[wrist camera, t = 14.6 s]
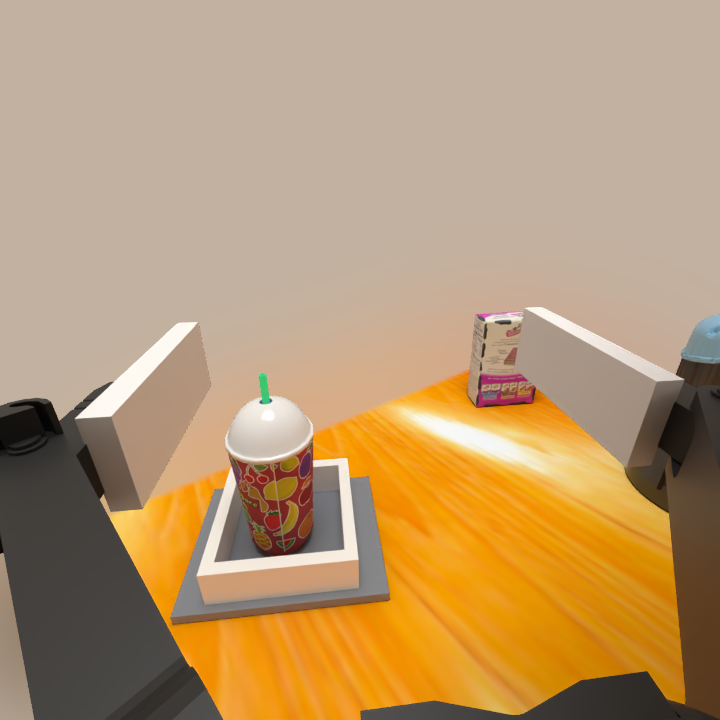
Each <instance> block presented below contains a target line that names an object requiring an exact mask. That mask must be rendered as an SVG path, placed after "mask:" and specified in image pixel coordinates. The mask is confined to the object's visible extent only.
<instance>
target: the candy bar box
mask: <svg viewBox="0 0 720 720" xmlns="http://www.w3.org/2000/svg"><path fill="white" fill-rule="evenodd" d="M523 314H524V311H523V312H505V313H490V314H476V315H475V324H474V334H473V343H472V354H471V362H470V372H469V382H468V392H467V395H468V397H469V398H470V399H471V401H472V402H473V403H474V405H475V406H476V407H488V406H500V405H511V404H522V403H532V402H533V400H534V395H535V390H536V387H535V386H534V385H533V384H532V383H531V382H529V381H528V380H527V379H526V378H525V377H524V376H523V375H522V374H521V373H519V372H518V371H517V370H516V369H515V368H514V366H515V360H516V354H517V349H518V343H519V337H520V331H521V326H522V320H523Z"/></svg>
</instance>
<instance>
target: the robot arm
mask: <svg viewBox="0 0 720 720" xmlns="http://www.w3.org/2000/svg"><path fill="white" fill-rule="evenodd" d="M681 356H682V359H681V362H680V365H679V368H678V370H677V373H676V375H674V374H672V373H670V372H668V371H667V370H665V369H662V368H661V367H659V366H656V365H655V364H653V363H651V362H649V361H647V360H645V359H643V358H641V357H639V356H637V355H635V354H633V353H631V352H629V351H627V350H625V349H623V348H621V347H619V346H617V345H615V344H613V343H612V342H610V341H608V340H606V339H604V338H602V337H600V336H598V335H596V334H593V333H592V332H590V331H588V330H586V329H584V328H582V327H580V326H578V325H576V324H574V323H572V322H570V321H568V320H566V319H564V318H562V317H560V316H558V315H556V314H555V313H552V312H550V311H549V310H547V309H545V308H543V307H535V308H525V309H524V314H523V320H522V326H521V331H520V337H519V343H518V349H517V354H516V360H515V366H514V368H515V369H516V370H517V371H518V372H519V373H521V374H522V375H523V376H524V377H525V378H526V379H527V380H528V381H529V382H531V383H532V384H533V385H534V386H535V387H536V388H537V389H538V390H540V391H541V392H542V393H543V394H544V395H545V396H546V397H547V398H549V399H550V400H551V401H552V402H553V403H554V404H555V405H556V406H558V407H559V408H560V409H561V410H562V411H563V412H564V413H565V414H567V415H568V416H569V417H570V418H571V419H572V420H573V421H574V422H576V423H577V424H578V425H579V426H580V427H581V428H582V429H583V430H585V431H586V432H587V433H588V434H589V435H590V436H591V437H592V438H594V439H595V440H596V441H597V442H598V443H599V444H600V445H601V446H602V447H604V448H605V449H606V450H607V451H608V452H609V453H610V454H611V455H613V456H614V457H615V458H616V459H617V460H618V461H619V462H620V463H622V464H623V465H624V466H625V471H626V474H627V476H628V478H629V479H630V481H631V482H632V483H633V485H634V486H635V487H636V488H637V489H638V490H639V491H640V492H641V493H642V494H643V495H645V496H646V497H647V498H648V499H650V500H651V501H652V502H654V503H655V504H657V505H658V506H660V507H661V508H663V509H665V510H666V511H668V512H669V518H670V529H671V540H672V551H673V562H674V572H675V583H676V594H677V605H678V616H679V627H680V638H681V649H682V660H683V671H684V682H685V697H686V702H685V705H684V704H681V703H677V702H674V701H671V700H667V699H666V698H665V697H664V695H663V694H662V692H661V691H660V689H659V688H658V686H657V685H656V683H655V682H654V681H653V679H652V678H651V676H650V675H649V673H648V672H647V671H646V672H638V673H631V674H624V675H617V676H610V677H602V678H595V679H588V680H581V681H579V682H577V683H576V684H574V685H572V686H570V687H569V688H567V689H565V690H564V691H562V692H560V693H558V694H557V695H555V696H553V697H552V698H550V699H548V700H546V701H545V702H543V703H541V704H540V705H538V706H536V707H534V708H533V709H531V710H529V711H528V712H526V713H524V714H521V715H508V714H503V713H497V712H492V711H487V710H481V709H476V708H471V707H465V706H460V705H455V704H449V703H444V702H439V701H429V702H422V703H415V704H407V705H400V706H393V707H386V708H379V709H371V710H364V711H361V720H720V314H717V315H713V316H710V317H708V318H705V319H704V320H702V321H701V322H699V323H698V324H697V325H696V326H695V328H694V330H693V332H692V334H691V336H690V339H689V341H688V343H687V345H686V347H685V348H684V349H683V350H682V352H681ZM210 387H211V382H210V377H209V372H208V367H207V363H206V358H205V352H204V348H203V342H202V337H201V333H200V327H199V323H198V322H191V323H177V324H176V325H175V326H174V327H173V328H172V329H171V330H170V331H169V332H168V333H166V334H165V335H164V336H163V337H162V338H161V339H160V340H159V341H158V342H157V343H156V344H155V345H154V346H153V347H151V348H150V349H149V350H148V351H147V352H146V353H145V354H144V355H143V356H142V357H141V358H140V359H139V360H138V361H136V362H135V363H134V364H133V365H132V366H131V367H130V368H129V369H128V370H127V371H126V372H124V373H123V374H122V375H121V376H120V377H119V378H118V379H117V380H116V381H115V382H109V383H107V384H106V385H104V386H102V387H100V388H98V389H96V390H94V391H93V392H92V393H91V394H90V395H89V396H87V397H86V398H85V399H84V400H83V402H80V403H79V404H78V405H77V406H76V407H75V408H74V410H72V411H70V412H69V413H68V414H67V415H66V416H65V417H64V418H62V419H61V420H60V421H59V420H58V417H57V415H56V413H55V410H54V408H53V405H52V403H51V402H50V401H49V400H47V399H41V398H33V399H24V400H19V401H15V402H10V403H7V404H4V405H1V406H0V554H1V553H4V557H5V562H6V567H7V573H8V579H9V584H10V589H11V595H12V600H13V606H14V611H15V617H16V622H17V627H18V633H19V638H20V644H21V649H22V654H23V660H24V665H25V671H26V676H27V681H28V687H29V693H30V698H31V704H32V709H33V714H34V720H223V718H222V717H221V715H220V713H219V711H218V709H217V707H216V706H215V704H214V702H213V700H212V698H211V696H210V695H209V693H208V691H207V689H206V687H205V686H204V684H203V682H202V680H201V679H200V677H199V675H198V674H197V672H196V671H195V669H194V668H193V667H190V666H189V665H188V664H187V662H186V660H185V658H184V657H183V655H182V653H181V651H180V649H179V647H178V646H177V644H176V642H175V640H174V638H173V636H172V634H171V632H170V631H169V629H168V627H167V625H166V623H165V621H164V619H163V617H162V616H161V614H160V612H159V610H158V608H157V606H156V604H155V603H154V601H153V599H152V597H151V595H150V593H149V591H148V589H147V588H146V586H145V584H144V582H143V580H142V578H141V576H140V574H139V573H138V571H137V569H136V567H135V565H134V563H133V561H132V559H131V558H130V556H129V554H128V552H127V550H126V548H125V546H124V545H123V543H122V541H121V539H120V537H119V535H118V533H117V531H116V530H115V528H114V526H113V524H112V522H111V520H110V518H109V516H108V515H107V513H106V511H105V509H104V507H103V505H102V503H101V501H100V498H101V497H102V495H103V494H104V496H105V498H106V501H107V503H108V506H109V509H110V511H111V512H114V511H126V510H137V509H143V508H144V506H145V504H146V502H147V500H148V499H149V497H150V495H151V493H152V491H153V490H154V488H155V486H156V484H157V482H158V480H159V479H160V477H161V475H162V473H163V471H164V470H165V468H166V466H167V464H168V462H169V461H170V459H171V457H172V455H173V453H174V451H175V450H176V448H177V446H178V444H179V443H180V441H181V439H182V437H183V435H184V434H185V432H186V430H187V428H188V426H189V425H190V423H191V421H192V419H193V417H194V416H195V414H196V412H197V410H198V408H199V406H200V405H201V403H202V401H203V399H204V398H205V396H206V394H207V392H208V390H209V389H210Z"/></svg>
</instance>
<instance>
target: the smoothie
mask: <svg viewBox="0 0 720 720" xmlns="http://www.w3.org/2000/svg"><path fill="white" fill-rule="evenodd" d="M259 380H260V388H261V396H262V397H259V398H256V399H254V400H252V401H250V402H248V403H247V404H245V405H244V406H243V407H242V408H241V409H240V410H239V412H238V413H237V414H236V416H235V417H234V419H233V422H232V424H231V427H230V429H229V430H228V432H227V435H226V437H225V439H224V441H225V448H226V450H227V452H228V454H229V459H230V462H231V466H232V469H233V473H234V477H235V480H236V484H237V487H238V491H239V494H240V498H241V502H242V505H243V509H244V512H245V516H246V520H247V523H248V527H249V530H250V534H251V537H252V540H253V542H254V543H255V544H256V546H257V547H259V548H261V549H262V550H263V551H264V552H266V553H267V554H269V555H274V556H282V555H288V554H290V553H293V552H295V551H296V550H298V549H299V548H300V547H302V545H303V544H304V543H305V542H306V540H307V537H308V536H309V535H310V533H311V530H312V528H313V433H314V426H313V424H312V422H311V421H310V419H309V418H307V417H306V416H305V414H304V413H303V411H302V410H301V409H300V408H299V407H298V406H297V405H296V404H295V403H293V402H292V401H290V400H289V399H286V398H283V397H280V396H269V393H268V384H267V377H266V373H260V374H259Z"/></svg>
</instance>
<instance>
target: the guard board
mask: <svg viewBox="0 0 720 720" xmlns="http://www.w3.org/2000/svg"><path fill="white" fill-rule="evenodd" d="M385 600H389V589H388V583H387V577H386V572H385V566H384V561H383V555H382V549H381V544H380V538H379V533H378V527H377V521H376V516H375V510H374V505H373V499H372V493H371V488H370V482H369V477H357V478H349V469H348V460H347V458H342V459H329V460H316V461H313V528H312V530H311V533H310V535H309V536H308V537H307V540H306V542H305V543H304V544H303V545H302V547H300V548H299V549H298V550H296V551H295V552H293V553H290V554H288V555H282V556H274V555H269V554H267V553H266V552H264V551H263V550H262V549H261V548H259V547H257V546H256V544H255V543H254V542H253V540H252V537H251V534H250V530H249V527H248V523H247V520H246V516H245V512H244V509H243V505H242V502H241V498H240V494H239V491H238V487H237V484H236V480H235V477H234V473H233V469H232V467H231V469H230V472H229V475H228V478H227V481H226V485H225V488H223V489H215V490H214V493H213V496H212V499H211V502H210V505H209V508H208V511H207V514H206V516H205V519H204V522H203V525H202V528H201V531H200V534H199V537H198V539H197V542H196V545H195V548H194V551H193V554H192V557H191V560H190V562H189V565H188V568H187V571H186V574H185V577H184V580H183V583H182V585H181V588H180V591H179V594H178V597H177V600H176V603H175V606H174V608H173V611H172V614H171V617H170V618H171V621H172V624H181V623H190V622H199V621H208V620H217V619H226V618H235V617H243V616H252V615H261V614H270V613H279V612H288V611H297V610H306V609H314V608H323V607H332V606H341V605H350V604H359V603H368V602H377V601H385Z"/></svg>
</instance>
